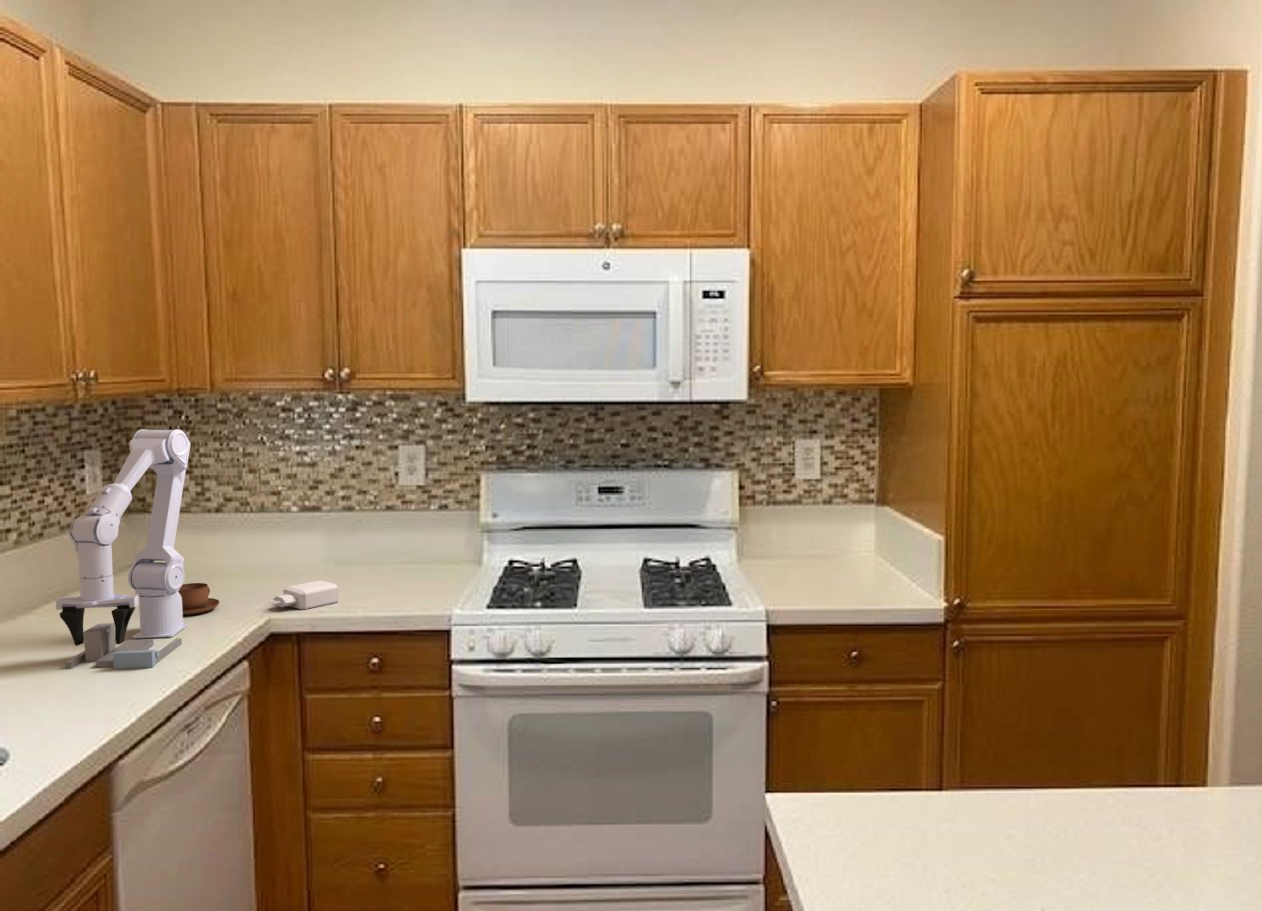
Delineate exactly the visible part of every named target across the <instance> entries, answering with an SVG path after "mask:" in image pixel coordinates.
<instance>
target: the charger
mask: <svg viewBox="0 0 1262 911" xmlns="http://www.w3.org/2000/svg"><path fill="white" fill-rule="evenodd" d="M282 592H283V595H282V594H281V595H277V596H275V597H273V599H272V600H269V601H268V604H271V603H272V605H275V606H277V607H281V608H285V607H292V608H295V609H299V610H310V609H314V608H318V607H322V606H323V607H324V606H327V605H332V604H336V603H338V602H339V587H338V585H337V584H335V583H332V582H329V581H324V580H322V579H321V580H314V581H310V582H305V583H299V584H294V585H289V586H285V588H284V589H283V591H282Z"/></svg>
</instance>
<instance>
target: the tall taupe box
mask: <svg viewBox="0 0 1262 911" xmlns="http://www.w3.org/2000/svg"><path fill="white" fill-rule="evenodd" d="M115 648H116V640H115V624H114V622H110V623H109V622H108V623H107V622H106V623H103V622H102V623H97V624H96V625H95V624H94V626H92V627H90V628H88V629H86V630H85V631H84V651H85V663H92V662H95V663H96V661H97V660H99V659H100V658H102V657H103V656H105V655H106V654H108V653H109V652H111V651H112V650H114V649H115Z"/></svg>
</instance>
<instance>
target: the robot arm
mask: <svg viewBox="0 0 1262 911" xmlns="http://www.w3.org/2000/svg"><path fill="white" fill-rule="evenodd" d="M128 446H129V451H130V452H129V454H128V456H127V457H126V460H125V461H124V463H123V465H122V466H121V469H120V470H119V473H118V474H117V476H116V478H115V480H114V481H113V483H110V484H109V483H108V484H106V485H104V486H102V487H101V489H100V490H99V492H98V495H96V497H95V498H94V501H93V502H92V503H91V505H90V506H89V508H88V509H87V511H86V512H85V513H84V514H83V515H81V516H78V517H77V518H75V520H73V521H72V523H71V526H70V530H68V536H69V538H70V541H71V542H72V543H73V544H74V551H75V553H77V559H78V578H79V596H70V597H60V598H58V599H56V600H55V609H56V610H57V611H60V610H61V612H60V613H59V617H60V619H61V620H62V621H63V622H64V624H65V625H66V628H68V631H69V632H70V635H71V637H72V640H73V644H74V646H76V647H79V646H81V645H82V644H85V642H84V632H85V631H84V616H85V609H93V608H115V609H113V610H111V616H112V619H113V623H114V630H115V645H122V644H123V643H125V638H126V632H127V629H128V626H129V623H130V620H131V618H132V615H133V613H134V611H135V609H136V607H138V606H139V607H138V610H139V624H140V625H139V626H140V627H139V629H140V631H138V632H137V633H136V634H134V635H132V638H133V639H150V638H151V639H154V638H171V637H172V638H173V636H175V635H177V633H179V632H181V631H182V630H183V629H184V628H186V627H187V626H189V625H188V623H186V622H185V623H184V615H183V611H182V598H181V595H180V594H179V592H178V591H179V589H180V587H181V586H182V584H184V582H185V579H186V578H185V577H186V576H185V567H184V562H185V558H184V557H183V555H181V554H180V553H179V552H178V551H177V550H176V549H175V544H176V537H177V530H178V525H179V524H178V523H179V518H180V510H181V505H182V497H183V490H184V486H185V477H186V472H187V468H188V464H189V463H188V462H189V456H190V450H191V442H190V440H189V438H188V436H187V435H186V433H185V432H184V431H183V430H181V429H178V428H177V429H145V428H144V429H143V428H140V429H138V430H136V432H135V433H134V434H133V436H132V439H131V440H130V441H129V443H128ZM148 469H151V470H153V471H154V472H155V474H156V476H157V478H156V483H155V484H156V485H155V489H154V490H155V491H154V496H153V503H152V507H151V508H152V509H151V515H150V520H149V527H148V533H147V534H148V535H147V539H146V540H147V541H146V546H145V547H144V548H143V549H141V550H140V551H139V552H137V553H136V554H134V558H133V563H132V565H131V566H130V569H129V572H128V574H127V575H128V576H127V577H128V578H127V579H128V584H129V586H130V588H131V589H132V590H134V591H135V595H129V594H128V595H127V594H115V589H114V588H115V587H114V569H113V568H114V567H113V551H112V550H113V549H112V543H114V541H115V540H116V539H117V538H118V535H119V526H120V524H121V518H122V516H123V514H124V513H125V511H126V510H127V508H128V507H129V506H130V504H131V502H132V500H133V495H132V493H131V491H132V490H133V488H134V487H135V486H136V485H137V483H138V482H139V480H141V478H142V477H143V476H144V474H145V473H146V472H147V471H148ZM159 561H160V562H159ZM162 561H163V562H162Z"/></svg>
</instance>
